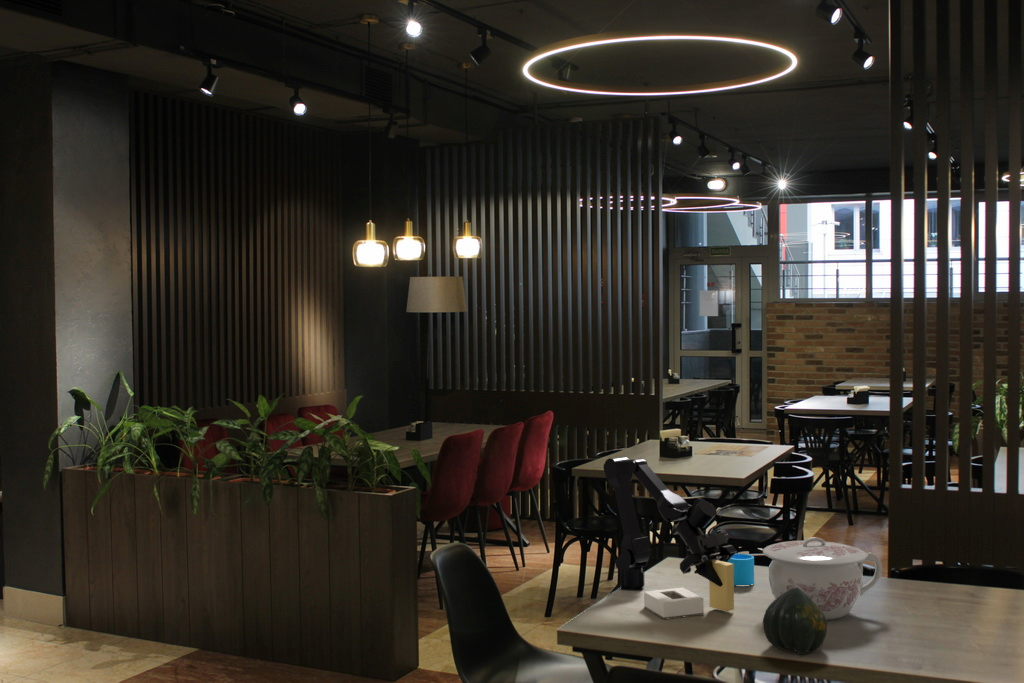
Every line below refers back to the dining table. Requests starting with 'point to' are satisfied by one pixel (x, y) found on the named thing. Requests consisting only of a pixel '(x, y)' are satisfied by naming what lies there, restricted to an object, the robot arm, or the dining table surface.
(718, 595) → the block
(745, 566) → the mug
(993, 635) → the dining table surface
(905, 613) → the dining table surface
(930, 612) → the dining table surface
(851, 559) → the chamber pot
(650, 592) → the white slotted base
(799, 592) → the squash
